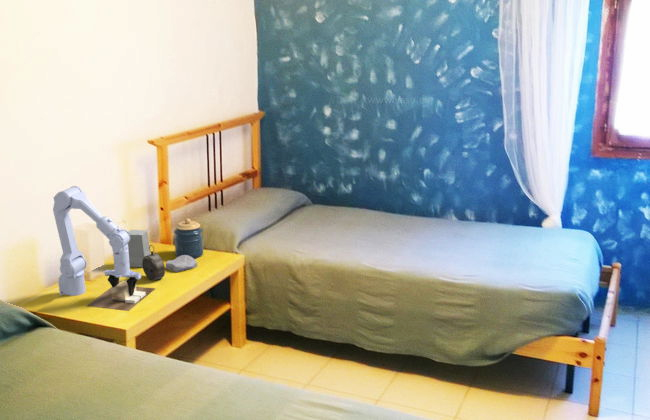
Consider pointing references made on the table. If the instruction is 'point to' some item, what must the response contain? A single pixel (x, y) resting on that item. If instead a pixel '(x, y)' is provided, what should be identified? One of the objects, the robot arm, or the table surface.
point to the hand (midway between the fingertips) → (124, 294)
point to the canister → (188, 239)
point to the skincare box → (138, 247)
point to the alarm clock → (153, 266)
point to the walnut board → (108, 303)
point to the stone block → (181, 263)
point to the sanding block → (121, 291)
